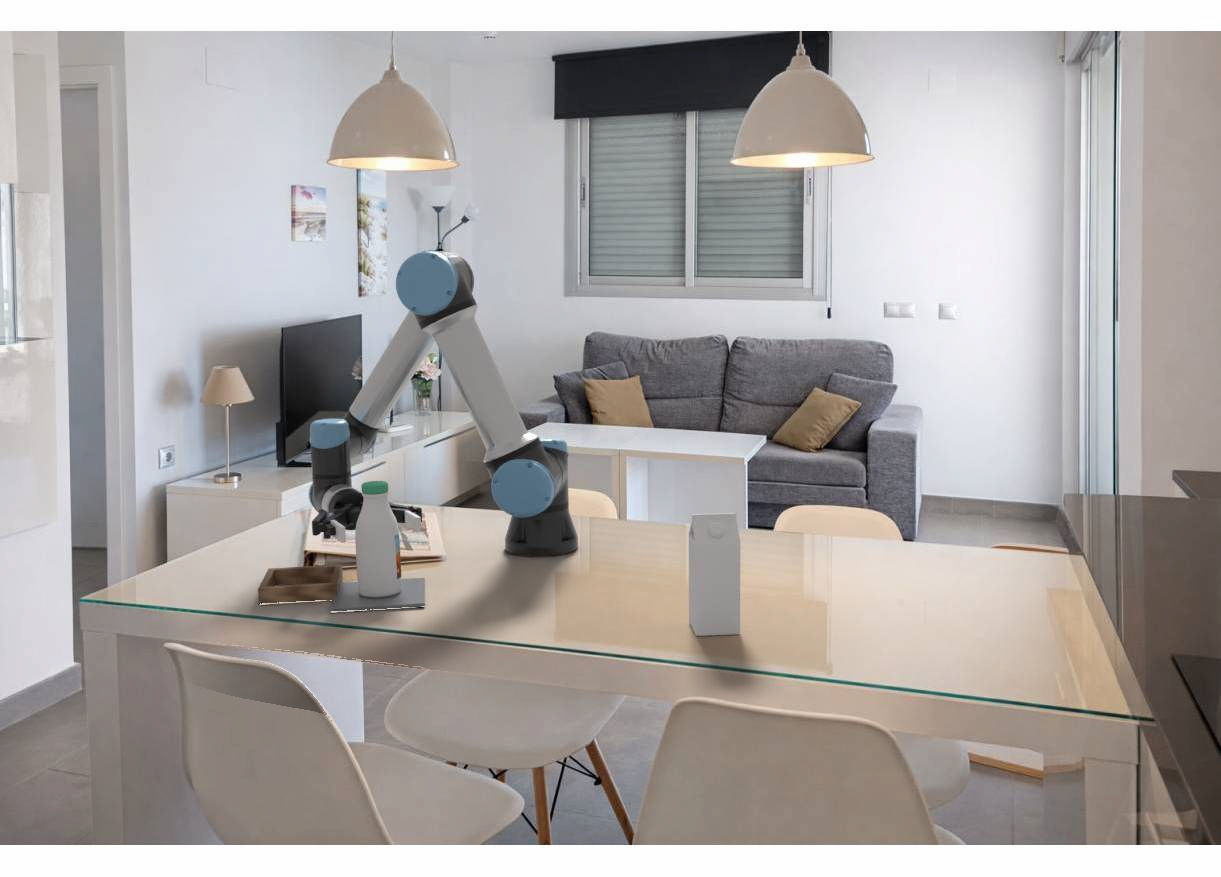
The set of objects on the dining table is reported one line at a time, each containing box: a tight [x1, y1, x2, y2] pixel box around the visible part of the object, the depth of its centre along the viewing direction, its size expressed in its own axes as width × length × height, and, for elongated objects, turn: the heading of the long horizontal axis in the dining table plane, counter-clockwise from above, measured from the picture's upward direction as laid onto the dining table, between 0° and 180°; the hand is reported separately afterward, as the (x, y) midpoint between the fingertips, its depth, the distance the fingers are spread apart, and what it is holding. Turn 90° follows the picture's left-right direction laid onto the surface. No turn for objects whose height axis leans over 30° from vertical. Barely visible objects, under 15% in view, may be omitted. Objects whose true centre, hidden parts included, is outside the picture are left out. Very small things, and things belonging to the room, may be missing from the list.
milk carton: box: [688, 512, 741, 637], centre depth 177 cm, size 7×7×19 cm
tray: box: [257, 563, 344, 605], centre depth 202 cm, size 13×13×3 cm
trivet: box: [329, 577, 426, 612], centre depth 198 cm, size 16×16×1 cm
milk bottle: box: [354, 480, 403, 598], centre depth 197 cm, size 8×8×20 cm
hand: (381, 529), depth 194 cm, fingers open, 13 cm apart
